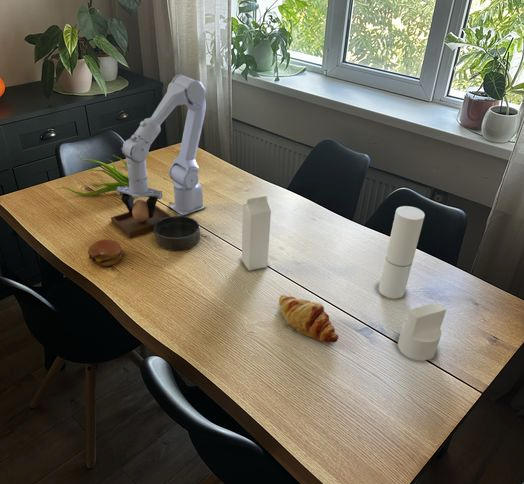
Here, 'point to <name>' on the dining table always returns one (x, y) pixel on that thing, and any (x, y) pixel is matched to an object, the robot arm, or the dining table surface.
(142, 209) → the egg
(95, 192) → the decorative plant
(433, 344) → the base with upright slab
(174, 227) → the dark grey mixing bowl
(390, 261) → the cylindrical container
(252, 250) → the milk
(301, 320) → the croissant
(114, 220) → the tray
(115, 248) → the burger
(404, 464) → the dining table surface
